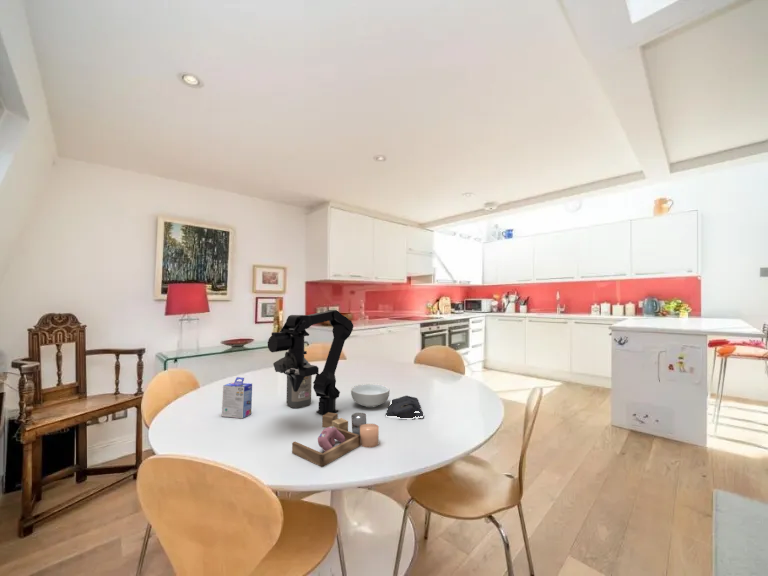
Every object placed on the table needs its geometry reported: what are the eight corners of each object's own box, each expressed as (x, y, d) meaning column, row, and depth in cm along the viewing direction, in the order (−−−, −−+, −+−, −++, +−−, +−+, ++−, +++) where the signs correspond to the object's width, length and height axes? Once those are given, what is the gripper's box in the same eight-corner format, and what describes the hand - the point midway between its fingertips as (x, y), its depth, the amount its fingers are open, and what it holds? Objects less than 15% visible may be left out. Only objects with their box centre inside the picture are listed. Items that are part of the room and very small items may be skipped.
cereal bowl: (359, 413, 124) (360, 396, 124) (345, 402, 139) (345, 386, 139) (396, 407, 132) (396, 390, 132) (379, 396, 147) (379, 381, 147)
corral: (331, 434, 104) (331, 425, 104) (360, 445, 96) (360, 435, 97) (292, 452, 91) (292, 442, 92) (321, 466, 84) (322, 455, 84)
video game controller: (335, 445, 100) (326, 425, 101) (347, 440, 99) (338, 419, 100) (322, 460, 90) (312, 437, 91) (335, 455, 89) (325, 432, 90)
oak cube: (341, 429, 109) (341, 417, 109) (348, 432, 106) (348, 421, 106) (331, 432, 106) (331, 420, 106) (338, 436, 103) (338, 424, 103)
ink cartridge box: (252, 413, 124) (253, 377, 124) (243, 418, 118) (244, 380, 119) (230, 412, 125) (231, 376, 126) (221, 417, 120) (222, 379, 121)
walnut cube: (328, 423, 114) (328, 412, 115) (337, 424, 113) (337, 413, 113) (322, 427, 111) (322, 415, 111) (331, 428, 109) (331, 417, 109)
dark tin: (352, 430, 107) (351, 413, 108) (366, 429, 108) (365, 411, 108) (352, 437, 102) (351, 419, 103) (367, 435, 103) (366, 417, 103)
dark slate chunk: (422, 403, 139) (422, 392, 139) (424, 421, 117) (424, 409, 117) (388, 401, 141) (388, 391, 141) (384, 420, 119) (384, 407, 119)
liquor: (313, 405, 134) (314, 336, 136) (293, 409, 128) (294, 337, 130) (303, 400, 141) (304, 334, 143) (284, 404, 135) (285, 335, 137)
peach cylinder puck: (368, 437, 102) (368, 422, 103) (382, 442, 99) (382, 426, 99) (355, 443, 98) (355, 427, 98) (370, 449, 94) (370, 432, 94)
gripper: (262, 349, 113) (261, 392, 112) (294, 354, 102) (293, 402, 101) (287, 345, 122) (287, 385, 121) (319, 350, 111) (319, 394, 110)
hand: (295, 391), depth 113 cm, fingers closed
